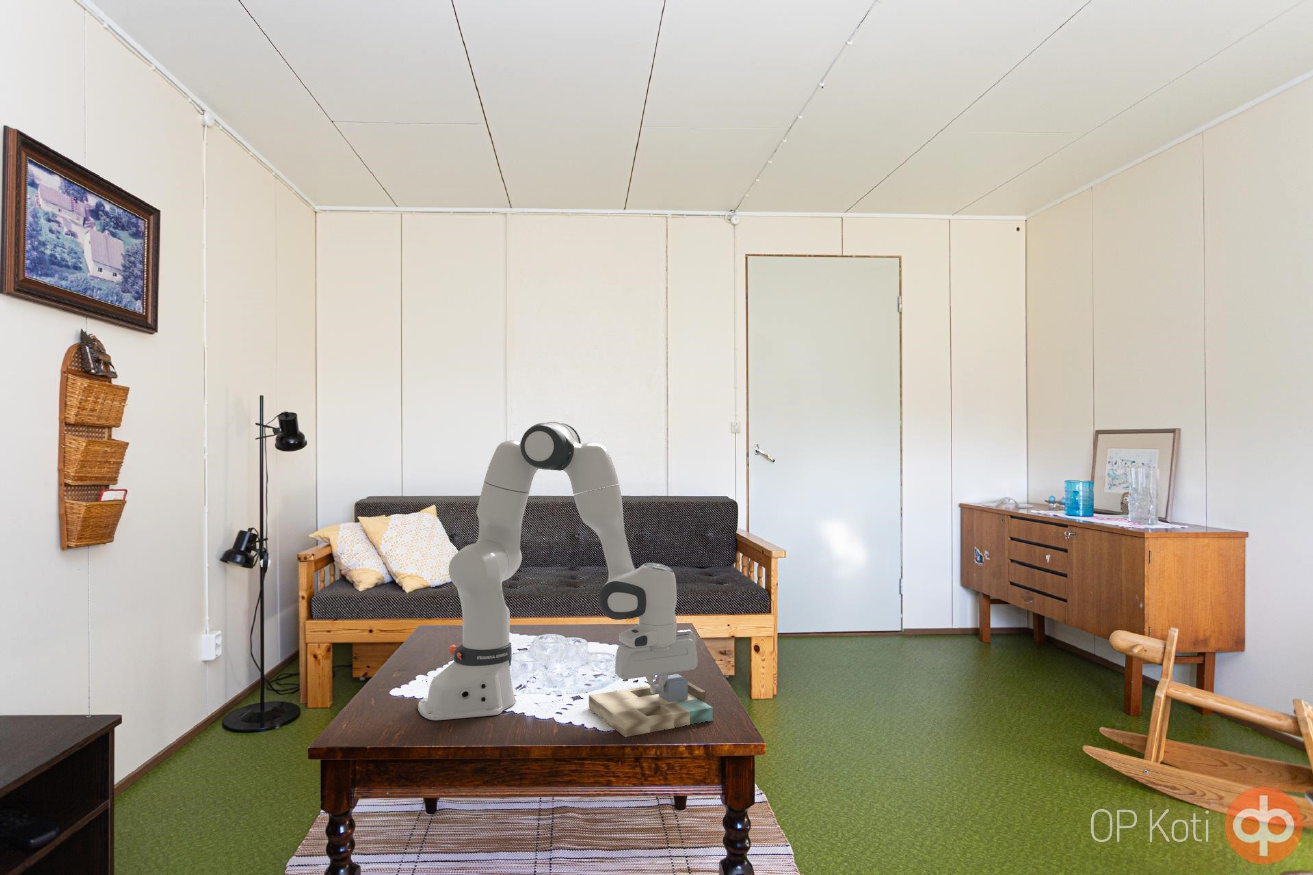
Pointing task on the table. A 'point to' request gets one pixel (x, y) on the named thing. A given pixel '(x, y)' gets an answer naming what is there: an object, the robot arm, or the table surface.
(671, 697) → the slate block
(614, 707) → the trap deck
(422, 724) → the table surface
